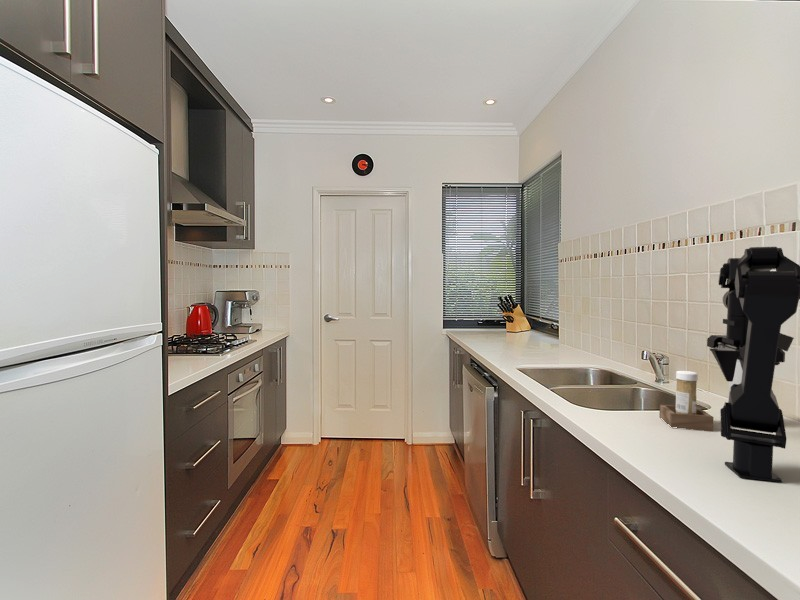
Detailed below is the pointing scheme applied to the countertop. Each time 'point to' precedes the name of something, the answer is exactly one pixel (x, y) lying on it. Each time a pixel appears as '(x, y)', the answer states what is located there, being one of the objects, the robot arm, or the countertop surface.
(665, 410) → the walnut collar
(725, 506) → the countertop surface
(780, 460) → the countertop surface
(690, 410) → the sprinkles bottle
